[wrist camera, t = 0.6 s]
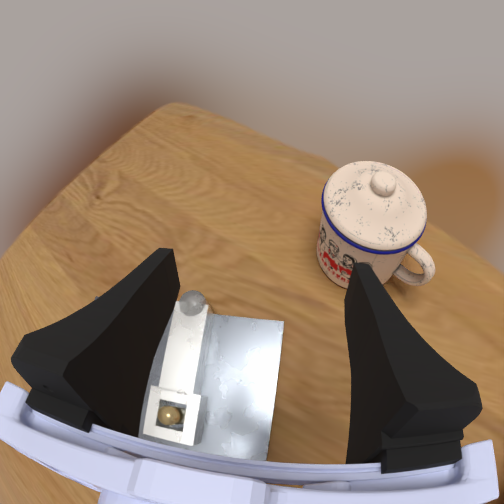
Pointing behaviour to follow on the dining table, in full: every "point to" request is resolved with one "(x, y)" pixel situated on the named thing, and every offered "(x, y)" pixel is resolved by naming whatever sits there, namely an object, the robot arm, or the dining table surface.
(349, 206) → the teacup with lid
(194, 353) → the link
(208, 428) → the base plate
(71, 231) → the dining table surface
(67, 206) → the dining table surface
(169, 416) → the peg
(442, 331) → the dining table surface
